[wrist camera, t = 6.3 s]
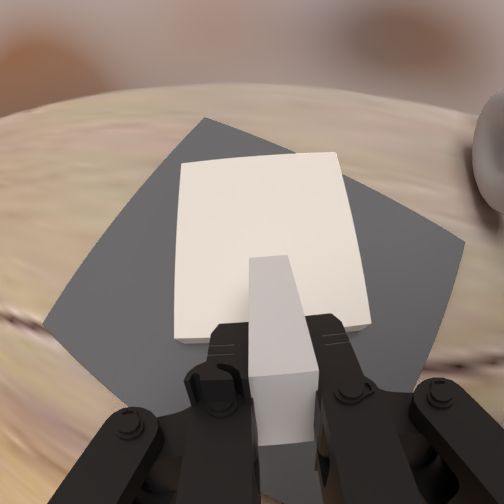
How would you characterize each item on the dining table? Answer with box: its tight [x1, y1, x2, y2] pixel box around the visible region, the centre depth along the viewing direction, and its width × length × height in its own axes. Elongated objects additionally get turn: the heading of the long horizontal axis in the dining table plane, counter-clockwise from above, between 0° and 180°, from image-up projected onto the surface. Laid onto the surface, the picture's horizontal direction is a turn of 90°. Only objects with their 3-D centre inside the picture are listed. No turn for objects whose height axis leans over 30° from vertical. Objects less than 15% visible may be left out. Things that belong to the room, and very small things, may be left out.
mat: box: [43, 118, 465, 504], centre depth 19 cm, size 22×20×1 cm
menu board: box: [174, 152, 371, 344], centre depth 19 cm, size 2×10×11 cm
